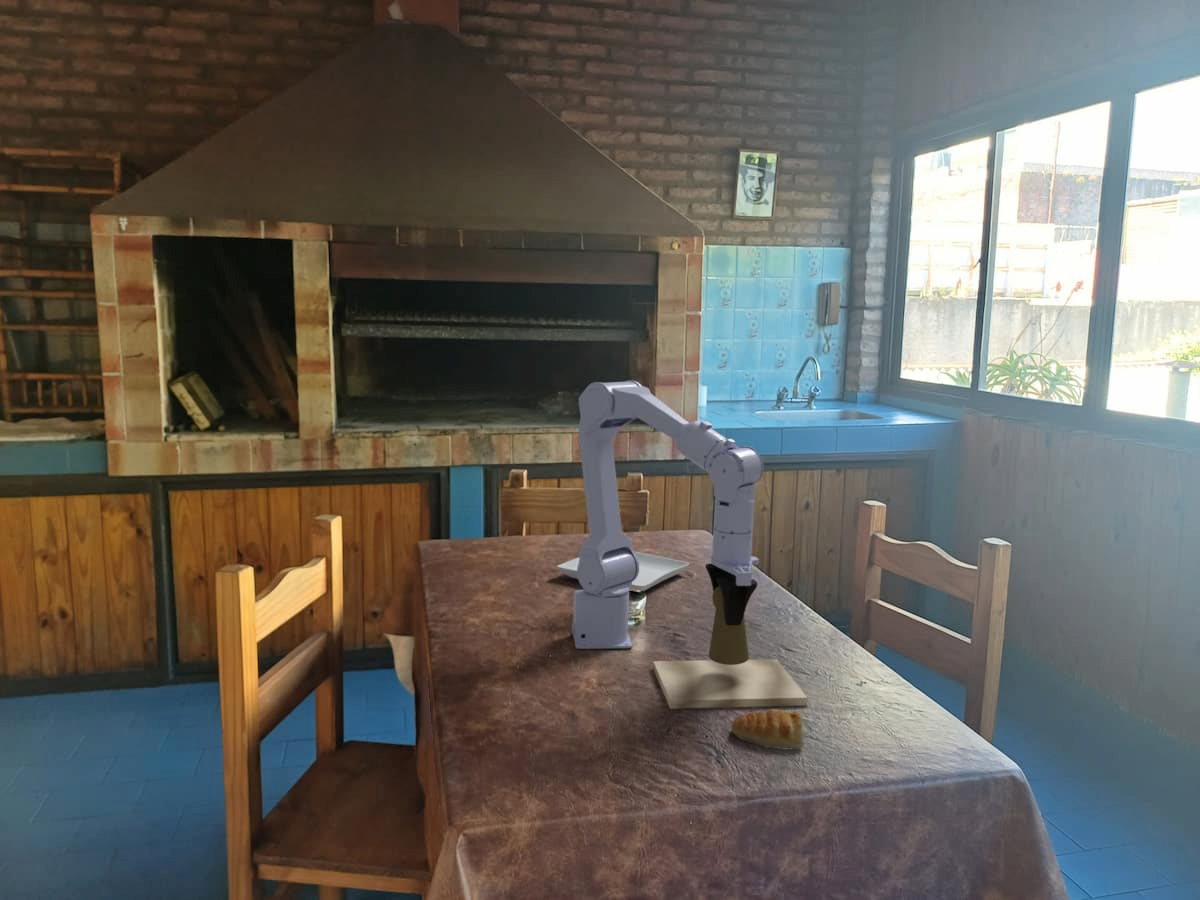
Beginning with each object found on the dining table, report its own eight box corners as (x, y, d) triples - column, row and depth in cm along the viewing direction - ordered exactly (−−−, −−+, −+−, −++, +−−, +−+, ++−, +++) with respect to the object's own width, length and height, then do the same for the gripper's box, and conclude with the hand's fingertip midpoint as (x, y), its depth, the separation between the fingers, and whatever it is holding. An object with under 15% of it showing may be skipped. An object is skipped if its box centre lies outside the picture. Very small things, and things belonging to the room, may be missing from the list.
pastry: (732, 747, 111) (733, 720, 110) (730, 724, 117) (731, 697, 117) (806, 753, 110) (808, 725, 109) (800, 729, 116) (801, 702, 116)
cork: (705, 648, 132) (706, 580, 130) (744, 647, 132) (745, 579, 130) (712, 665, 126) (713, 594, 124) (753, 664, 126) (754, 593, 124)
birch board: (670, 708, 121) (670, 700, 120) (653, 668, 134) (653, 661, 134) (806, 705, 123) (807, 697, 123) (776, 666, 137) (776, 659, 136)
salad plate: (690, 576, 185) (691, 560, 185) (642, 601, 167) (642, 584, 167) (607, 559, 196) (608, 544, 196) (554, 581, 178) (554, 565, 178)
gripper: (774, 542, 119) (768, 635, 121) (745, 518, 134) (741, 601, 136) (725, 542, 118) (720, 635, 121) (701, 517, 133) (697, 601, 135)
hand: (728, 617), depth 128 cm, fingers closed on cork, 5 cm apart
